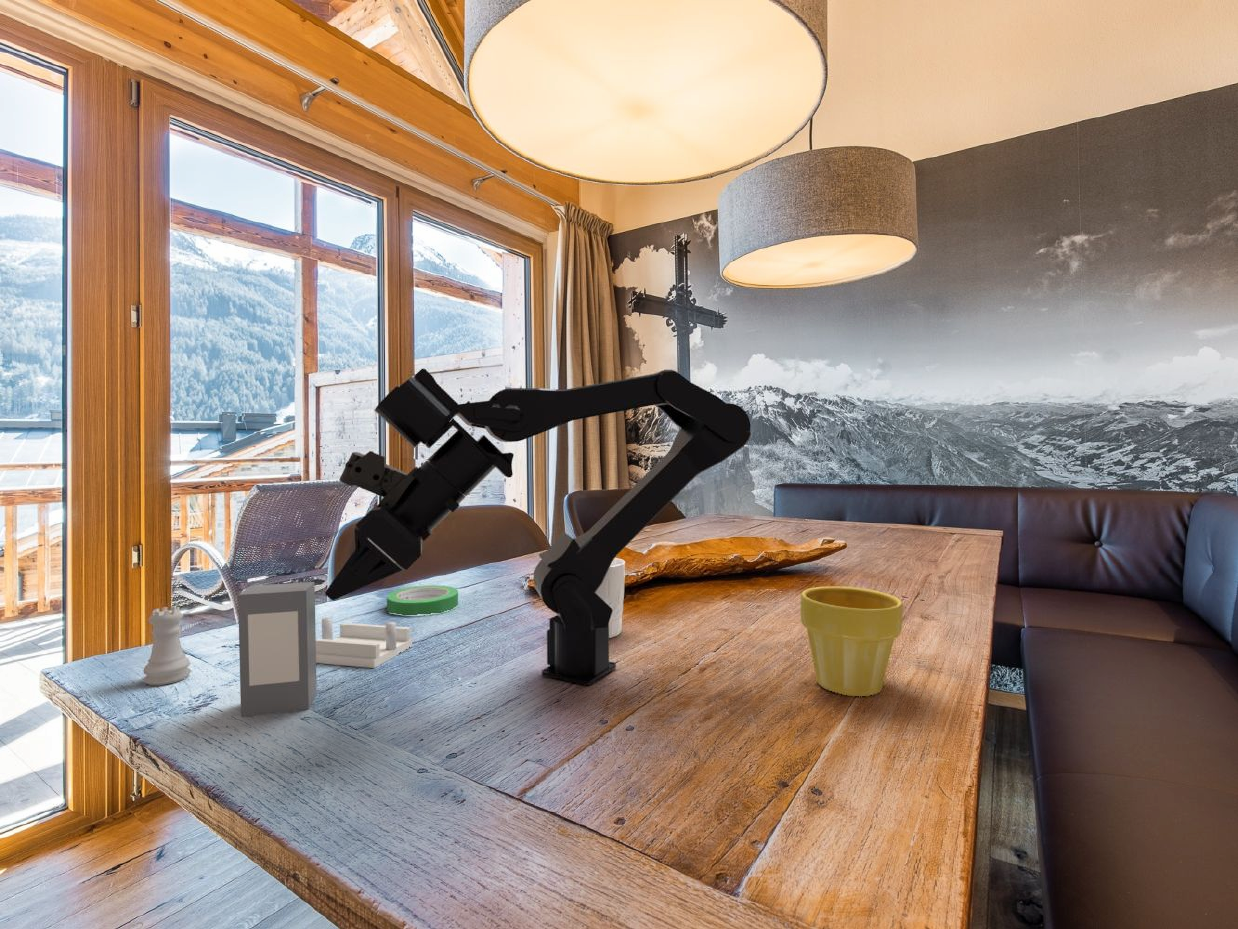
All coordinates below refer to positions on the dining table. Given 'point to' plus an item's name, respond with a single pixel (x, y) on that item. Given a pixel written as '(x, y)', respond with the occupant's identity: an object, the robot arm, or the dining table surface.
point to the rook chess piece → (166, 649)
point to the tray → (361, 644)
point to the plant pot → (850, 636)
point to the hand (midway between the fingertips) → (336, 586)
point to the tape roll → (422, 600)
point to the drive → (277, 648)
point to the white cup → (614, 594)
